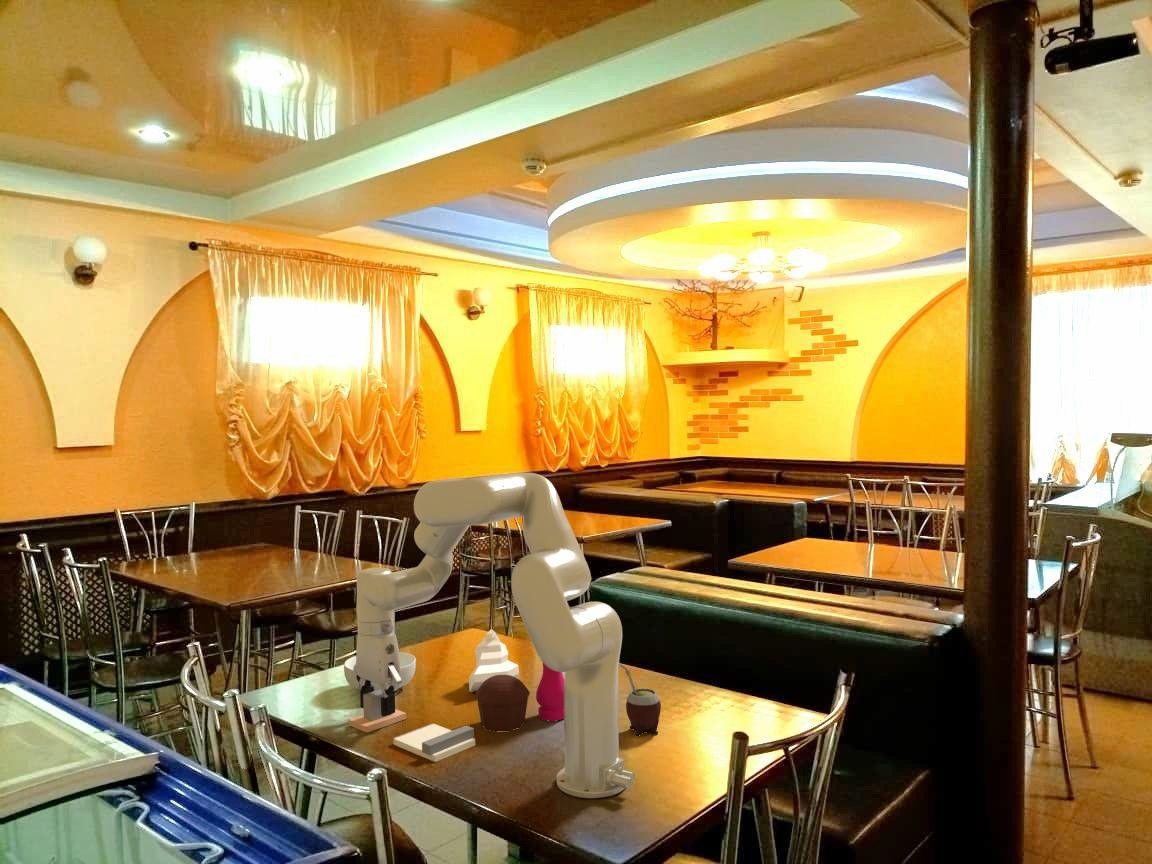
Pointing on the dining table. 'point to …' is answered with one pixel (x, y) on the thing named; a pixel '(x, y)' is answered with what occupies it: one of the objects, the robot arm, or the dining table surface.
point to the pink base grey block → (374, 714)
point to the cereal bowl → (405, 674)
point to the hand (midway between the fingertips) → (377, 709)
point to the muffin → (502, 703)
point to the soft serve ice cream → (491, 661)
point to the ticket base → (427, 735)
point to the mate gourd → (642, 708)
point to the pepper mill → (551, 695)
